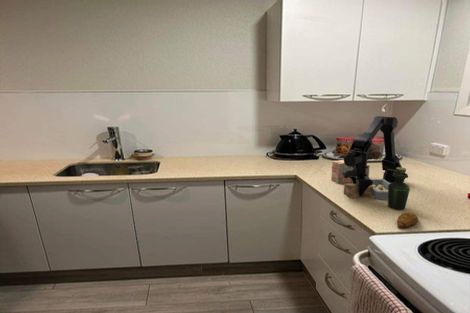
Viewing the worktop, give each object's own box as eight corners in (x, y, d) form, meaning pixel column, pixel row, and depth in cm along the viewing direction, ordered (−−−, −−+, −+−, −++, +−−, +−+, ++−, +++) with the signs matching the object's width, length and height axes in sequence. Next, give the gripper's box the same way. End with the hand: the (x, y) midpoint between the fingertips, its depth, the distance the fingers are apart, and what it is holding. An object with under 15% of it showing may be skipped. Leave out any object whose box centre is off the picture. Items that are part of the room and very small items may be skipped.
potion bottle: (381, 204, 119) (386, 166, 115) (398, 203, 119) (403, 165, 115) (393, 211, 111) (398, 171, 107) (411, 210, 111) (417, 170, 107)
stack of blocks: (360, 177, 159) (362, 157, 156) (368, 180, 153) (370, 160, 150) (330, 180, 153) (332, 160, 151) (337, 184, 147) (339, 163, 145)
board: (366, 193, 132) (368, 183, 131) (371, 197, 128) (373, 186, 126) (343, 193, 133) (344, 183, 131) (347, 197, 128) (348, 187, 127)
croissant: (409, 233, 94) (411, 220, 92) (389, 226, 99) (391, 214, 98) (424, 222, 101) (426, 210, 100) (405, 216, 106) (407, 205, 105)
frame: (383, 185, 144) (384, 179, 143) (402, 199, 123) (403, 192, 123) (360, 184, 145) (361, 178, 144) (375, 198, 125) (376, 192, 124)
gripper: (338, 158, 136) (336, 186, 140) (349, 167, 118) (346, 199, 122) (360, 158, 135) (357, 187, 138) (374, 168, 117) (371, 200, 120)
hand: (357, 193), depth 130 cm, fingers open, 8 cm apart
